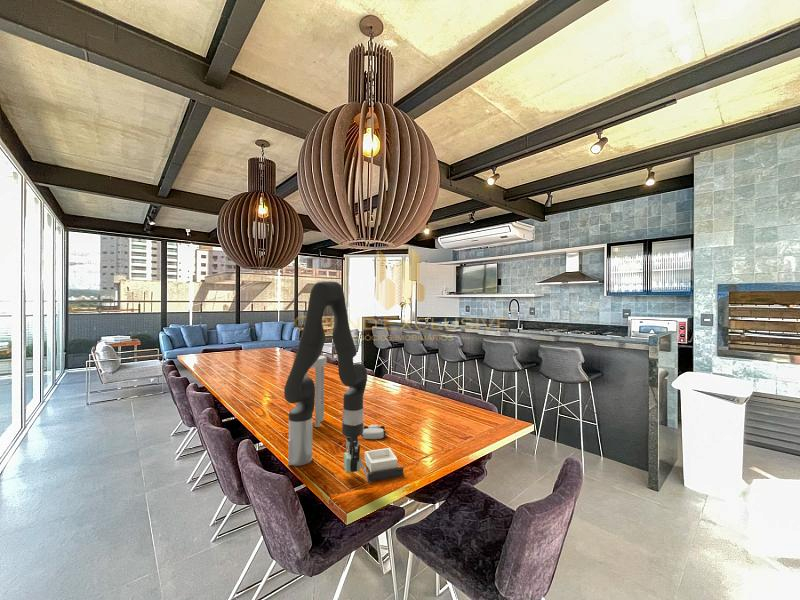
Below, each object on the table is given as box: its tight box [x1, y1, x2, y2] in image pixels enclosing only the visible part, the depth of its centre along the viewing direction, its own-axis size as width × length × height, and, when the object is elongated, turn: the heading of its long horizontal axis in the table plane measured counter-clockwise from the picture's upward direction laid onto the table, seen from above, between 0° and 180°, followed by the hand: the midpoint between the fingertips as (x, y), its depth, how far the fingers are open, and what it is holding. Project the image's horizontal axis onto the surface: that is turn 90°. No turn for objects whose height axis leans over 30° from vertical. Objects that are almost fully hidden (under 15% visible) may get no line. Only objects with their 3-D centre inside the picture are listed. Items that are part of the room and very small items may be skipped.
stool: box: [296, 355, 328, 428], centre depth 176 cm, size 16×16×35 cm
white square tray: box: [364, 447, 399, 472], centre depth 125 cm, size 10×10×6 cm
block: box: [343, 451, 362, 474], centre depth 120 cm, size 5×5×5 cm
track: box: [360, 460, 404, 483], centre depth 129 cm, size 13×22×4 cm, turn 19°
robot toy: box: [360, 423, 387, 440], centre depth 159 cm, size 12×4×15 cm
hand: (352, 467), depth 120 cm, fingers closed on block, 5 cm apart
